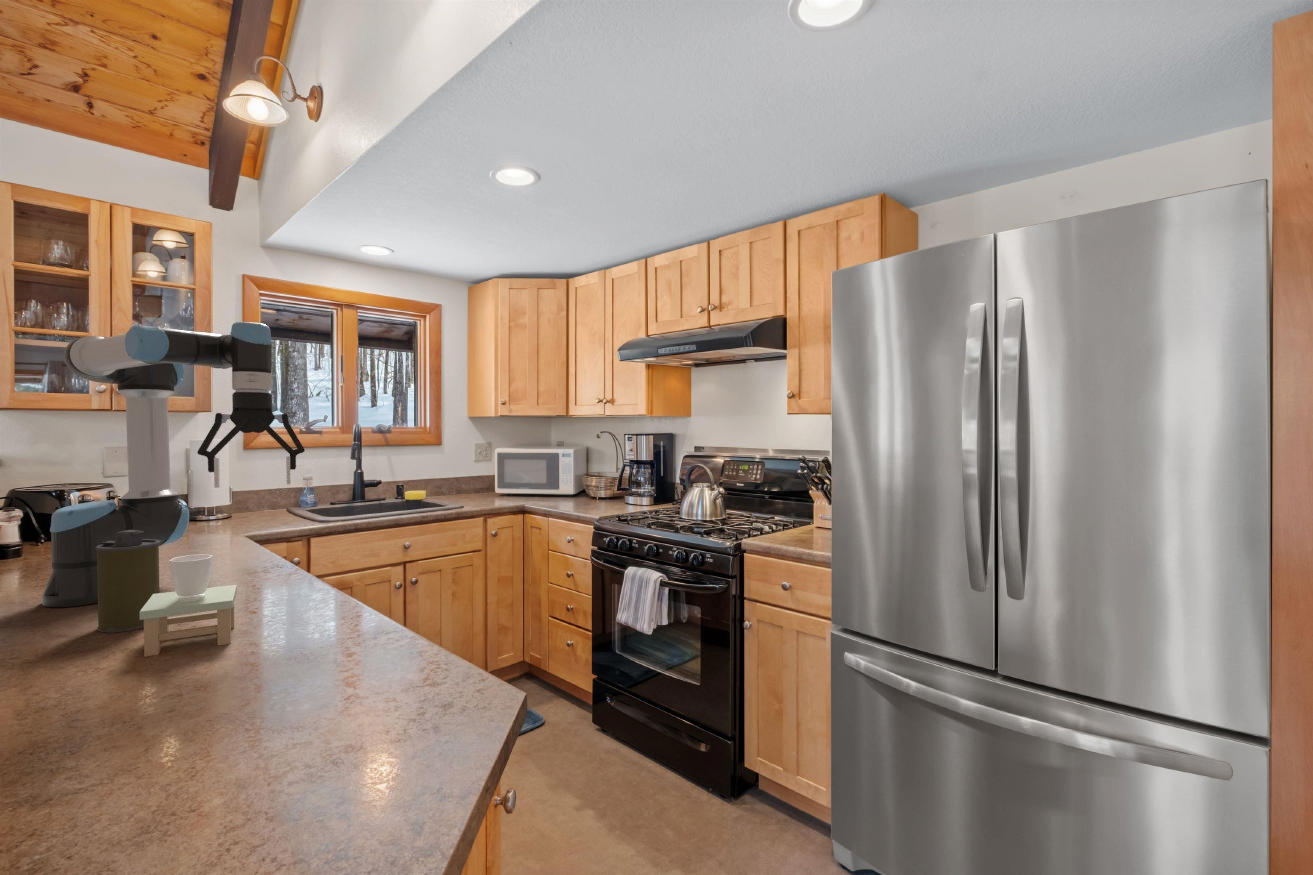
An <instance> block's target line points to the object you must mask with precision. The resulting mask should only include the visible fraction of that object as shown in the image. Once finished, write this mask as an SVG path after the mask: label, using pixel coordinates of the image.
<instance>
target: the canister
mask: <svg viewBox="0 0 1313 875" xmlns="http://www.w3.org/2000/svg"><path fill="white" fill-rule="evenodd" d="M143 533H144V532H143V531H140V530H127V531H121V532H116V533H115V540H114V541H107V542H102V543H100V545H98V546H97V547H95V549H96V550H97V577H98V603H97V618H98V619H97V620H98V621H97V622H98V624H97V625H98V626H97V627H96V630H97V632H99V633H106V634H107V633H109V634H113V633H115V634H116V633H123V632H124V633H125V632H130V631H136V630H140V629H144V619H143V620H140V610H141V609H142V608H143V607H144V605H145V604H146V603H147V601H148V600H149V599H150V597H151V596H152V595H153V594H157V593H160V552H159V550H160V549H159V548H160V546H159V543H160V541H159V540H156V539H142V534H143Z"/></svg>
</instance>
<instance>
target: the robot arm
mask: <svg viewBox="0 0 1313 875" xmlns="http://www.w3.org/2000/svg"><path fill="white" fill-rule="evenodd" d="M230 328H231V330H230V332H229V333H230V334H219V333H210V332H202V331H193V330H192V331H191V330H183V329H182V330H181V329H175V328H167V327H159V326H156V325H136V324H135V325H133V326H131V327H130V328H129V330H128V331H126V333H123V334H119V335H114V336H109V337H107V336H99V335H89V336H88V335H87V336H82V337H78V338H76V339H74V340H72V341H70V342H69V343H68V344H67V345H66V347H64V348H65V349H64V351H63V360H64V363H65V365H66V366H67V368H68V369H69V370H70V371H71V372H72V373H74V374H75V375H77V376H78V377H80V378H82V379H84V380H87V381H90V382H93V383H100V384H101V383H102V384H109V385H110V384H114V385H117V393H118V394H119V395H121V396H123V397H124V399H125V420H126V422H125V423H126V447H127V474H128V476H127V477H128V478H127V479H128V490H127V492H125V494H124V495H122V496H121V504H119V505H117V503H116V502H115V501H114V500H109V499H108V500H106V499H105V500H98V501H89V502H83V503H78V504H73V505H68V506H65V507H61V508H59V509H56V510H55V511H54V512H53V513H52V514H51V521H50V527H49V531H50V539H51V540H50V541H51V542H50V544H51V573H50V575H49V577H48V580H47V583H46V585H45V587H44V590H43V593H42V595H41V596H42V597H41V600H42V601H41V602H42V603H41V604H42V606H43V607H46V608H69V607H71V608H72V607H77V606H85V605H86V606H87V605H92V604H98V577H97V550H96V549H95V547H97V546H98V545H100V543H102V542H107V541H114V540H115V533H116V532H121V531H127V530H140V531H143V532H144V533H143V534H142V539H156V540H159V541H160V543H159V547H161V546H164V545H169V544H173V543H176V542H178V541H180V540H181V539H182V538H183V536H184V535H185V534H186V532H187V530H188V526H189V522H190V511H189V508H188V504H187V503H186V501H184V500H183V499H180V498H179V493H178V492H176V491H175V490H174V489H173V488H172V486H171V465H170V464H171V463H170V462H171V461H170V458H171V457H170V438H169V437H170V434H169V431H170V430H169V408H168V407H169V405H168V404H169V402H168V401H169V400H168V399H169V398H170V397H172V396H173V394H175V388H177V387H179V386H181V384H182V383H183V381H184V379H183V378H184V377H185V366H184V365H186V366H187V365H188V366H201V367H210V368H212V369H213V368H214V369H222V370H226V369H229V368H230V369H231V388H232V390H233V391H235V392H233V393H232V394H231V395H232V396H231V397H232V399H231V400H232V412H231V414H226V413H221V412H217V413H215V416H214V423H213V425H212V427H211V428H210V430H209V432H208V433H207V435H206V437H205V438H204V439H203V441H202V443H201V445H200V446H199V448H198V449H197V455H200V456H203V457H206V459H207V472H209V473H214V474H213V477H214V478H213V479H214V482H213V483H214V484H213V486H214V488H215V489H216V488H217V489H218V488H220V485H221V483H220V479H221V478H220V477H221V476H220V475H221V474H220V457H219V456H217V454H219V453H220V451H221V450H223V448H225V446H226V445H228V444H229V443H230V442H231V440H232V439H233V438H235V436H237V435H238V434H239V432H241V433H244V434H251V433H256V434H261V433H264V432H266V433H267V434H268V435H270V437H272V439H273V440H275V442H276V443H277V444H279V445H280V446H281V448H283V449H284V450H285V451H286V452H287V453H288V454H289V455H285V457H286V459H285V462H286V464H285V465H286V467H285V468H286V485H287V486H288V485H291V470H294V471H295V470H296V468H297V455H300V454H302V453H305V448H304V446H303V445H302V442H301V441H300V440H299V438H298V436H297V434H296V433H295V431H294V429H293V428H292V426H291V424H290V422H289V415H288V414H287V413H281V414H280V413H279V414H274V413H273V394H271V393H270V391H272V390H273V380H272V378H273V375H272V357H273V356H272V353H273V352H272V349H273V348H272V347H273V346H272V344H273V341H272V335H271V334H272V333H271V328H270V327H269V325H266V323H265V324H264V323H259V322H251V321H236V322H234V323H232V325H231V327H230ZM228 420H230V421H231V422H232V423H233V425H234V427H233V428H232V429H231V430H230V431H229V432H228V433H227V434H226V435H225V436H224V437H223V438H222V439H221V440H220V441H219V442H218V443H217V444H216V445H215V446H214V447H213V448H212V449H210V450H208V449H209V447H210V445H211V444H212V442H213V440H214V439H215V437H216V435H217V433H218V432H219V430H220V428H221V426H222V425H223V424H225V423H227V421H228ZM274 420H277V421H278V423H280V424H282V425H283V427H284V429H285V430H286V432H287V434H288V436H289V437H290V439H291V441H292V442H293V444H294V446H295V447H296V448H294V449H293V448H292V446H290V445H289V444H288V443H287V441H285V440H284V438H282V437H281V436H280V435H279V434H278V433H277V432H276V431H275V430H274V429H273V428H272V427H271V425H272V423H273V422H274ZM216 456H217V457H216Z"/></svg>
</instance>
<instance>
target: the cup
mask: <svg viewBox="0 0 1313 875" xmlns="http://www.w3.org/2000/svg"><path fill="white" fill-rule="evenodd" d="M213 559H214V554H213V555H212V554H206V553H201V554H188V555H182V556H175V557H172V558H171V559H169V560H168V565H169V570H170V575H171V580H172V584H173V587H174V592H175V591H176V594H177V595H178V596H182V597H180V598H179V599H178V601H180V602H189V601H196V600H200V599H203V598H205V597H206V595H204V594H202V593H204V592H205V591H206V590H207V588H208V587H209V586H208V585H209V582H210V577H211V570H212V564H213Z"/></svg>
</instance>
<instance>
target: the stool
mask: <svg viewBox="0 0 1313 875" xmlns="http://www.w3.org/2000/svg"><path fill="white" fill-rule="evenodd" d="M237 593H238V584H232V585H230V584H229V585H220V586H213V587H212V586H211V587H207V590H206V591H205V592H204V593H202V594H204V595H206V597H205V598H203V599H200V600H196V601H189V602H180V601H178V599H179V598H180V597H182V596H178V595H177V594H176V591H175V590H174V591H167V592H159V593H157V594H153V595H152V596H151V597H150V599H149V600H148V601H147V603H146V604H145V605H144V607H143V608H142V609H141V610H140V620H143V619H144V628H143V644H144V645H143V648H144V649H143V650H144V653H143V654H144V655H143V656H144V658H145V657H151V656H158V655H159V654H160V652H161V642H163V641H169V640H173V639H174V640H175V639H182V638H191V637H196V636H197V637H198V636H203V635H209V634H217V646H224V645H230V644H231V642H232V629H234V628H235V601H236V597H237ZM214 619H215V620H216V619H217V623H216V624H215V625H207V626H199V627H192V628H185V629H177V630H171V631H170V625H176V624H185V623H190V622H191V623H192V622H198V621H199V622H200V621H206V620H214Z"/></svg>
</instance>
